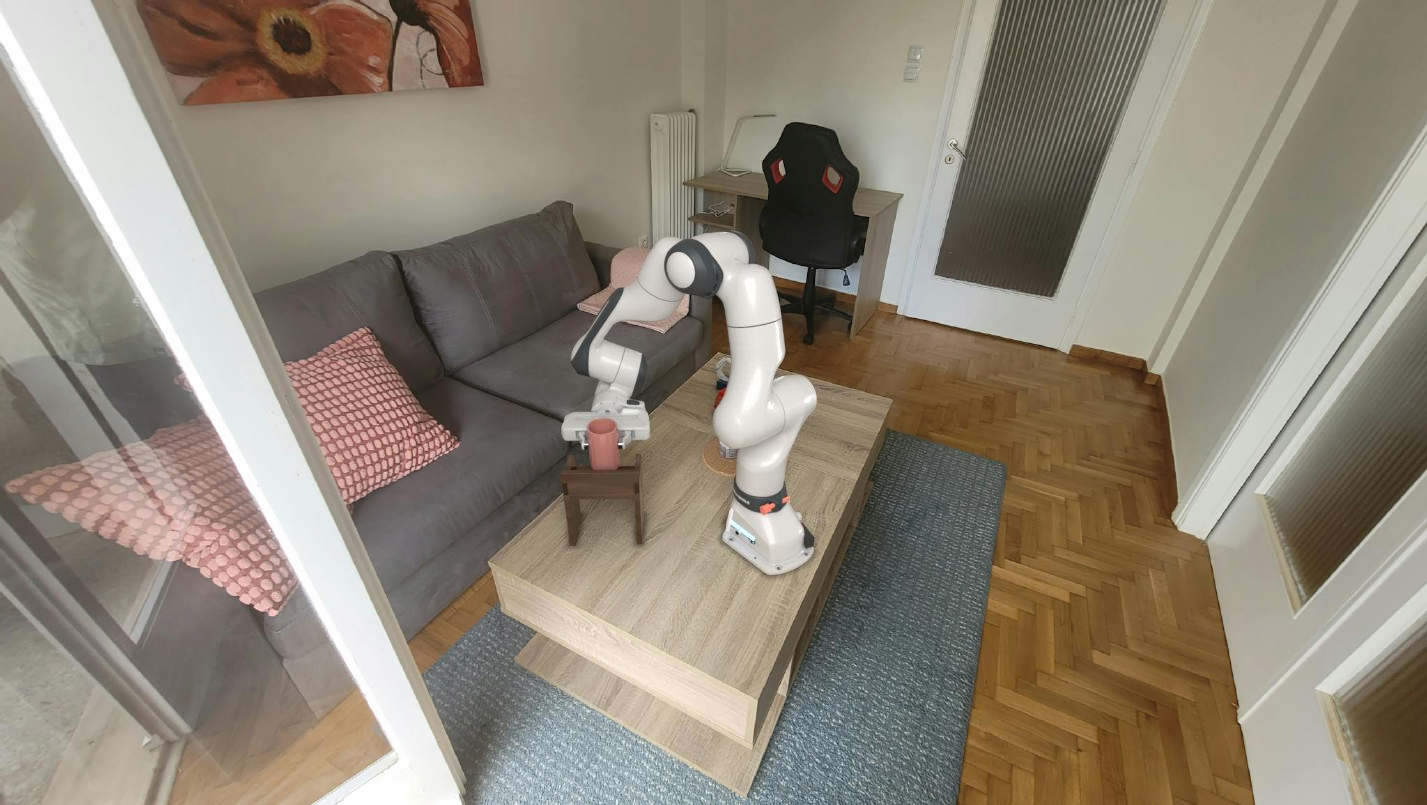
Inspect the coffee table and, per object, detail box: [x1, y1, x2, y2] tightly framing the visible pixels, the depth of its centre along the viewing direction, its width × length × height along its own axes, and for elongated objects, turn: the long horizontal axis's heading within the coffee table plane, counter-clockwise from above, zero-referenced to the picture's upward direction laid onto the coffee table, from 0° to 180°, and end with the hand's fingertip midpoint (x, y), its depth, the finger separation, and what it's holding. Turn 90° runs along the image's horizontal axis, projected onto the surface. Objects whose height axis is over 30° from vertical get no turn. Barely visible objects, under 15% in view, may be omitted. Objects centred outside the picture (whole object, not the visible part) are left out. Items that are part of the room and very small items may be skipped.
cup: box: [587, 418, 621, 470], centre depth 131 cm, size 7×7×10 cm
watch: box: [714, 356, 731, 391], centre depth 194 cm, size 6×8×11 cm
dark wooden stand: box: [559, 453, 645, 547], centre depth 133 cm, size 10×16×21 cm, turn 93°
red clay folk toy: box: [713, 387, 727, 410], centre depth 179 cm, size 8×7×15 cm
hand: (603, 447), depth 130 cm, fingers closed on cup, 7 cm apart
